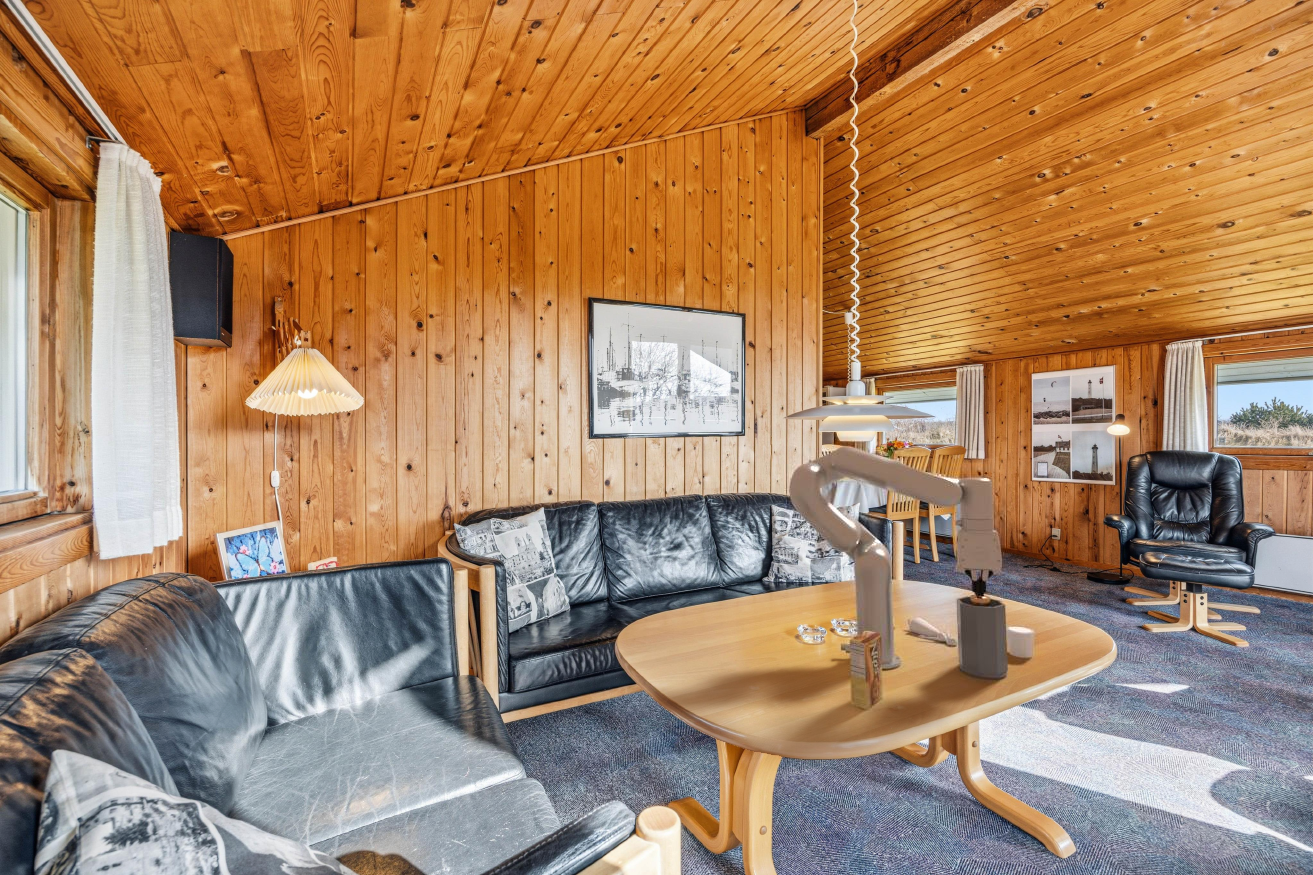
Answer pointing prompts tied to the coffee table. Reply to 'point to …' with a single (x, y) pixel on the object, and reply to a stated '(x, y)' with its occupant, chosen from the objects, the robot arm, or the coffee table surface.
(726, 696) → the coffee table surface
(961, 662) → the press pot
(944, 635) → the woman figurine
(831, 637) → the coffee table surface
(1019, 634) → the white cylinder
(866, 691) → the candy box
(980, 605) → the plunger
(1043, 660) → the coffee table surface
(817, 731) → the coffee table surface
